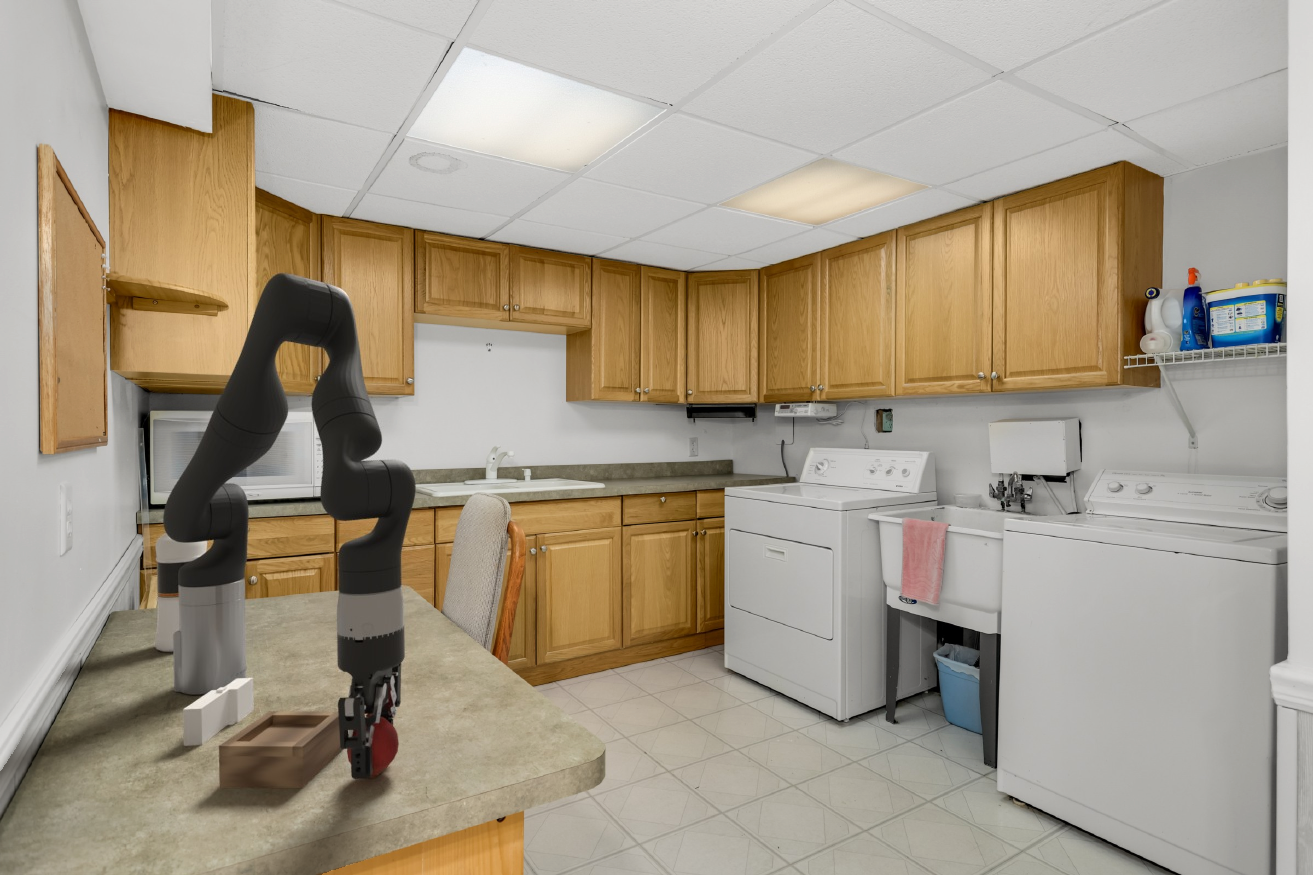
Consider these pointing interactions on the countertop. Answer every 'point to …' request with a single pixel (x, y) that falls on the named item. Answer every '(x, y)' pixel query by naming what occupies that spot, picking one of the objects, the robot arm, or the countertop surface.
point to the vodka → (171, 585)
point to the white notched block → (217, 711)
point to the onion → (382, 745)
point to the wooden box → (280, 750)
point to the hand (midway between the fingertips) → (373, 762)
